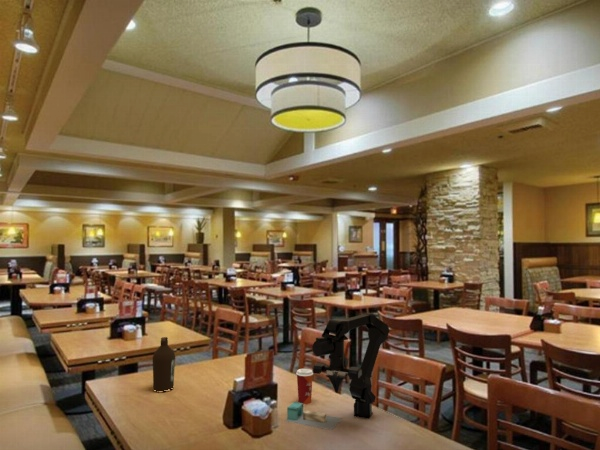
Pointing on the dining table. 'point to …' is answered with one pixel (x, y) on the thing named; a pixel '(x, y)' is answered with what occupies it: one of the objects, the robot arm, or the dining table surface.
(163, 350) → the olive oil
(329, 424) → the mat
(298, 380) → the paper cup
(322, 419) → the long wooden beam
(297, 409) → the teal faceted block
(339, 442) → the dining table surface
